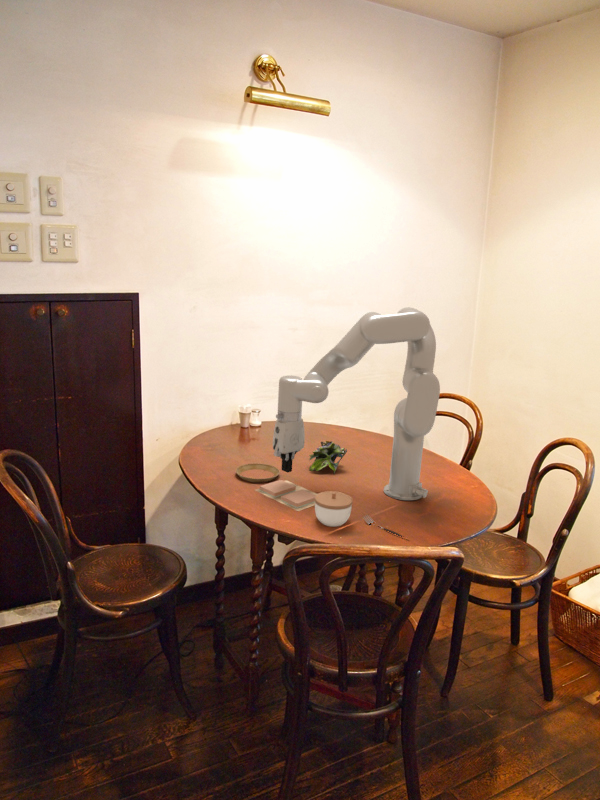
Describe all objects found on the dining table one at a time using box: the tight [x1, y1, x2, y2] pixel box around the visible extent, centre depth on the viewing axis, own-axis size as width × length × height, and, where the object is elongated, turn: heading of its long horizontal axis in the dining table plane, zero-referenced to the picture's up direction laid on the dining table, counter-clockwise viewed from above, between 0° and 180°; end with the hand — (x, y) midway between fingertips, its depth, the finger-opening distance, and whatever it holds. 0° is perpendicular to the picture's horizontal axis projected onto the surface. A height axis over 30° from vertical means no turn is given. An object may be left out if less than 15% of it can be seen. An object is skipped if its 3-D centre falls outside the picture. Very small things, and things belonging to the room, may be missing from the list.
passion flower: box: [308, 440, 348, 475], centre depth 217 cm, size 13×12×14 cm
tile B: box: [259, 479, 296, 498], centre depth 197 cm, size 7×2×9 cm
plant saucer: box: [235, 462, 281, 483], centre depth 209 cm, size 15×15×3 cm
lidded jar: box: [314, 490, 354, 528], centre depth 176 cm, size 11×11×9 cm
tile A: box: [281, 489, 316, 508], centre depth 190 cm, size 7×2×9 cm
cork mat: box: [254, 480, 318, 512], centre depth 195 cm, size 20×14×1 cm
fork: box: [362, 514, 403, 537], centre depth 175 cm, size 3×16×2 cm, turn 44°
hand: (286, 470), depth 198 cm, fingers closed
